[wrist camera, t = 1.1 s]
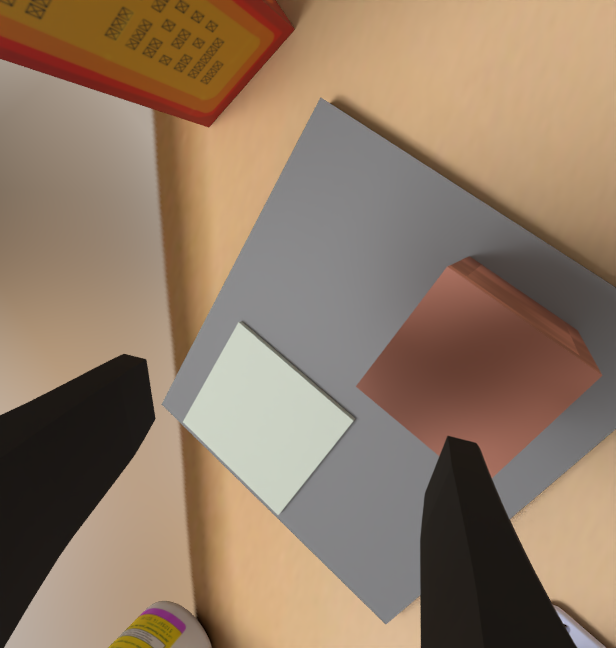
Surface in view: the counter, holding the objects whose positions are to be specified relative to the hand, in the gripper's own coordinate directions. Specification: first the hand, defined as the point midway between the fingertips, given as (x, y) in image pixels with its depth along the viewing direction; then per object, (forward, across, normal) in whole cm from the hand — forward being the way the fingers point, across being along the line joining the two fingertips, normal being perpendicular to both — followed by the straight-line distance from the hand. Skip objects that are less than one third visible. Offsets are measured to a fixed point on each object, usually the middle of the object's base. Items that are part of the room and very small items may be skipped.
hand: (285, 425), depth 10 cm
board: (+10, -1, +7) cm, 13 cm away
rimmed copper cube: (+10, -6, +2) cm, 12 cm away
